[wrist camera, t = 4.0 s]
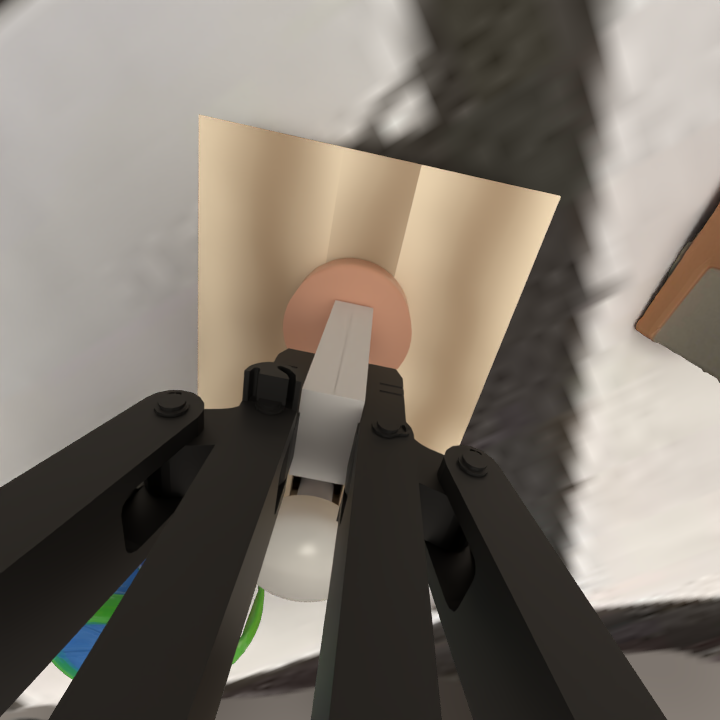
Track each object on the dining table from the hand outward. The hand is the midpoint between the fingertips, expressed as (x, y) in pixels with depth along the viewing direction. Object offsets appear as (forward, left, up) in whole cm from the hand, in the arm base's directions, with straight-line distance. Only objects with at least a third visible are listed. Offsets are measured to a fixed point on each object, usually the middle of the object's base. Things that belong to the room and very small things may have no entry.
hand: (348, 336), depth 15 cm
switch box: (0, -6, -9) cm, 10 cm away
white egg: (0, -11, -4) cm, 12 cm away
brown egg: (0, 0, -7) cm, 7 cm away
